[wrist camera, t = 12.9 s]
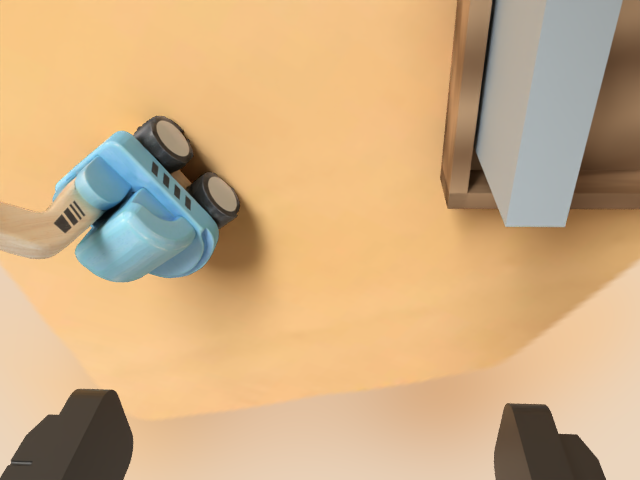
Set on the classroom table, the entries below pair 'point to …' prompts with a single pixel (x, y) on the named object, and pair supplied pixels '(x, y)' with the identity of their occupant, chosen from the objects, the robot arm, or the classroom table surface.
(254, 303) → the classroom table surface
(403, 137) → the classroom table surface
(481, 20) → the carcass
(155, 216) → the toy excavator
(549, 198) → the blue-gray square slab
